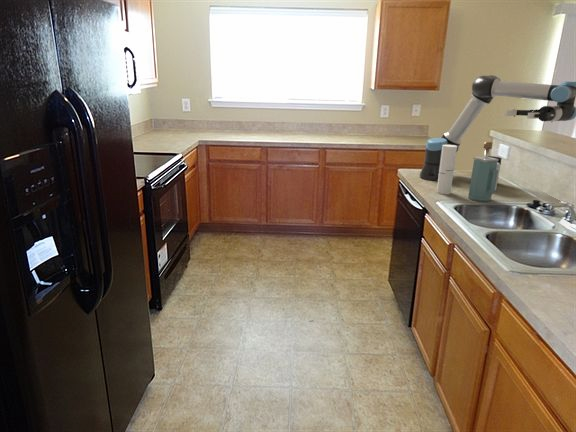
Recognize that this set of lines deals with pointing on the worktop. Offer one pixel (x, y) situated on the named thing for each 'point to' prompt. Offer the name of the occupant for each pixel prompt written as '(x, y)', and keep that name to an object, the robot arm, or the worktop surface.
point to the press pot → (483, 179)
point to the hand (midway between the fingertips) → (516, 114)
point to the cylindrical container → (446, 169)
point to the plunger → (487, 148)
